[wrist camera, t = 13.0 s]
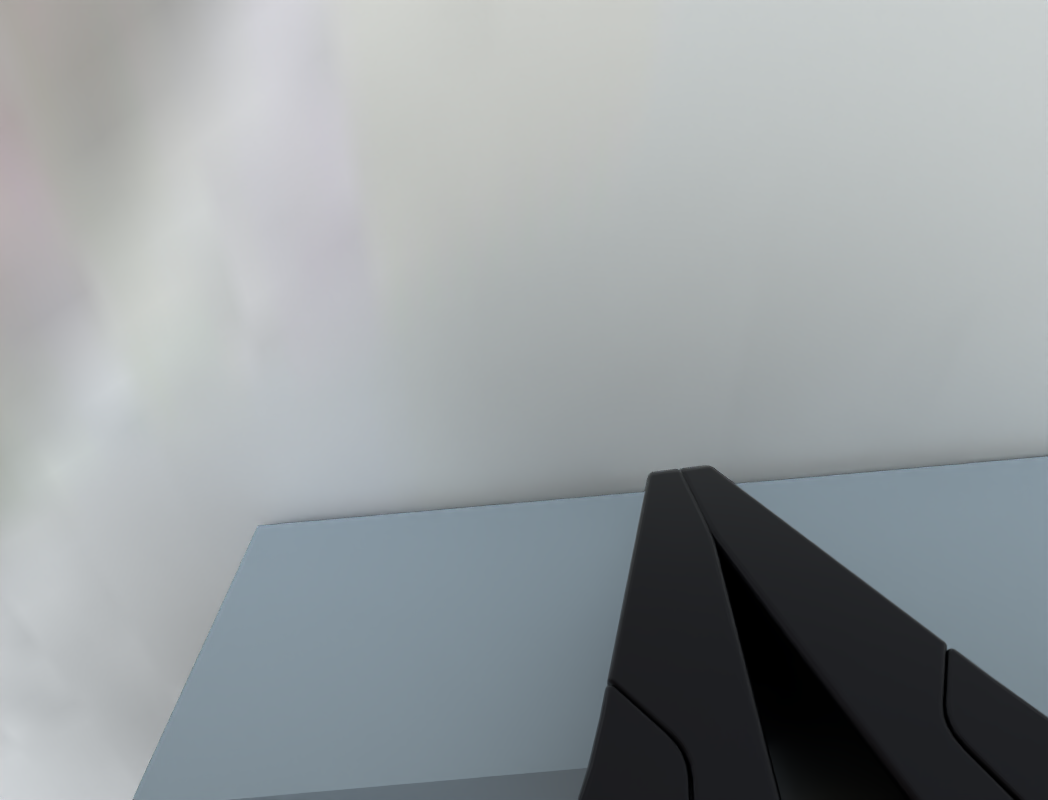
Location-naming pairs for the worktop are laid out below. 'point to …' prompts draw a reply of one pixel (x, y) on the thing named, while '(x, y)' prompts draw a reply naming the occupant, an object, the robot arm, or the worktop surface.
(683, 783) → the robot arm
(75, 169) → the worktop surface
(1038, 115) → the worktop surface
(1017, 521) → the grey rectangular bar
